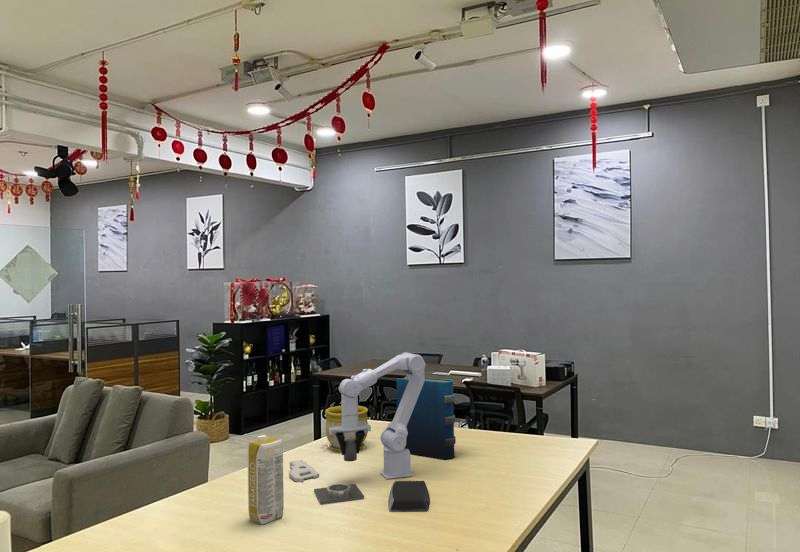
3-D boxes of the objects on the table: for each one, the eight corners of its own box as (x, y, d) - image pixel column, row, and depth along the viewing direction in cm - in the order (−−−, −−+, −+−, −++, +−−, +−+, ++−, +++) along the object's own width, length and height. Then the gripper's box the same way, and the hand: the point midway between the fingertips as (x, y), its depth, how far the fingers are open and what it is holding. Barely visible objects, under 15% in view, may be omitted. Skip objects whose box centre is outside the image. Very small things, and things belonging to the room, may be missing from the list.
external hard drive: (386, 513, 173) (386, 499, 173) (390, 491, 192) (389, 478, 192) (430, 513, 172) (430, 499, 172) (429, 490, 192) (429, 478, 192)
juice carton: (270, 510, 175) (269, 431, 176) (287, 516, 170) (286, 435, 171) (244, 520, 168) (243, 437, 169) (261, 527, 163) (260, 442, 164)
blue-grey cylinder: (355, 457, 203) (355, 438, 203) (358, 460, 198) (357, 441, 199) (342, 458, 201) (342, 439, 202) (345, 462, 197) (345, 442, 197)
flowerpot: (316, 450, 240) (316, 411, 240) (344, 440, 255) (344, 403, 255) (349, 457, 230) (349, 415, 230) (377, 446, 245) (376, 407, 245)
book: (460, 455, 230) (458, 379, 230) (450, 461, 222) (448, 382, 223) (408, 447, 242) (407, 375, 243) (397, 452, 235) (396, 378, 236)
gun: (280, 460, 215) (305, 456, 220) (280, 469, 215) (305, 465, 220) (296, 476, 200) (323, 472, 204) (296, 486, 200) (323, 481, 204)
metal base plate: (355, 486, 195) (355, 479, 195) (364, 498, 184) (364, 490, 184) (314, 491, 191) (313, 484, 191) (320, 504, 179) (320, 496, 179)
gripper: (367, 410, 206) (367, 448, 206) (327, 413, 202) (327, 452, 202) (372, 414, 199) (372, 453, 199) (330, 417, 195) (331, 458, 195)
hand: (350, 453), depth 200 cm, fingers closed on blue-grey cylinder, 4 cm apart
